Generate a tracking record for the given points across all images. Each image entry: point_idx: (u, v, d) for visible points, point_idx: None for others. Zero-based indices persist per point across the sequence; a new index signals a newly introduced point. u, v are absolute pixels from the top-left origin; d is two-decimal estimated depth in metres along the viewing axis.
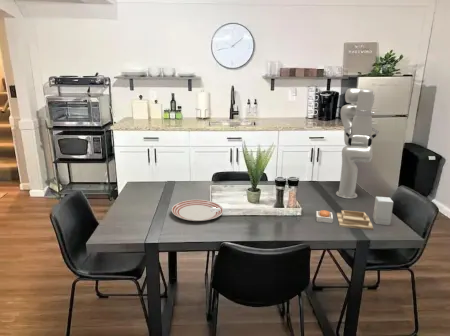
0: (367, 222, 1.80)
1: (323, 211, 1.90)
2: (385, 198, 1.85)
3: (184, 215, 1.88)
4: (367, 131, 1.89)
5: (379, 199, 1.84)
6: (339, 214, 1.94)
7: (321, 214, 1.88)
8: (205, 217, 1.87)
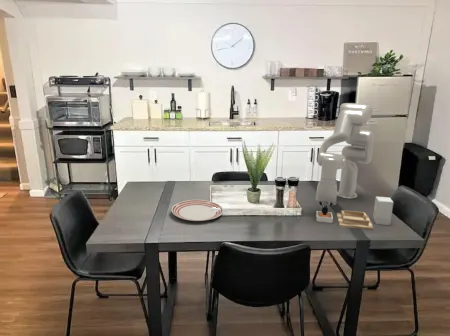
0: (367, 222, 1.80)
1: None
2: (385, 198, 1.85)
3: (184, 215, 1.89)
4: (332, 198, 1.84)
5: (380, 199, 1.84)
6: (339, 214, 1.94)
7: (321, 216, 1.88)
8: (205, 217, 1.87)
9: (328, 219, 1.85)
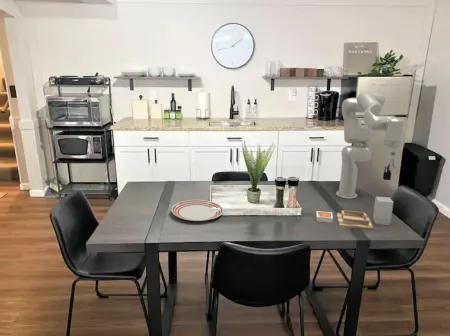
0: (367, 222, 1.80)
1: (323, 213, 1.90)
2: (385, 198, 1.85)
3: (184, 215, 1.89)
4: (385, 162, 1.77)
5: (380, 199, 1.84)
6: (339, 214, 1.94)
7: (321, 216, 1.88)
8: (205, 217, 1.87)
9: (328, 219, 1.85)
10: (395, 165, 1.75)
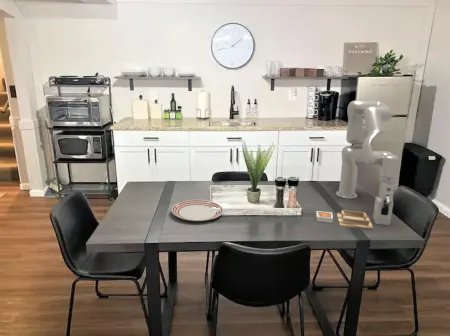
0: (367, 222, 1.80)
1: (323, 213, 1.90)
2: None
3: (184, 215, 1.88)
4: (381, 197, 1.82)
5: (380, 199, 1.84)
6: (339, 214, 1.94)
7: (321, 216, 1.88)
8: (205, 217, 1.87)
9: (328, 219, 1.85)
10: (391, 200, 1.80)
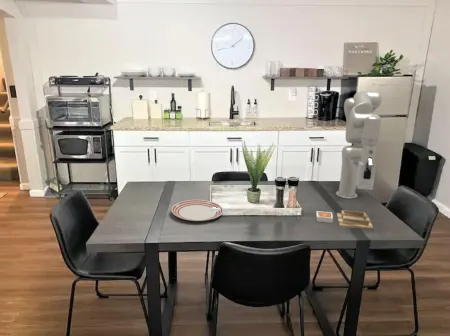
0: (367, 222, 1.80)
1: (323, 213, 1.90)
2: None
3: (184, 215, 1.89)
4: (363, 160, 1.76)
5: (362, 163, 1.78)
6: (339, 214, 1.94)
7: (321, 216, 1.88)
8: (205, 217, 1.87)
9: (328, 219, 1.85)
10: (373, 163, 1.74)
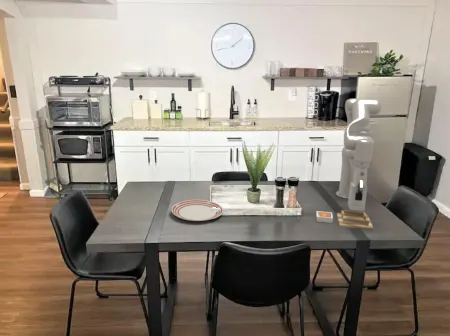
0: (367, 222, 1.80)
1: (323, 213, 1.90)
2: None
3: (184, 215, 1.88)
4: (355, 182, 1.79)
5: (354, 185, 1.80)
6: (339, 214, 1.94)
7: (321, 216, 1.88)
8: (205, 217, 1.87)
9: (328, 219, 1.85)
10: (364, 185, 1.76)
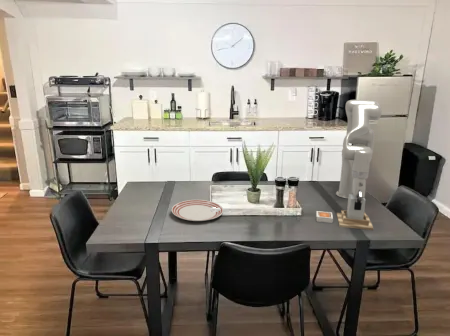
0: (367, 222, 1.80)
1: (323, 213, 1.90)
2: None
3: (184, 215, 1.89)
4: (354, 192, 1.80)
5: (352, 197, 1.83)
6: (339, 214, 1.94)
7: (321, 216, 1.88)
8: (205, 217, 1.87)
9: (328, 219, 1.85)
10: (363, 195, 1.78)
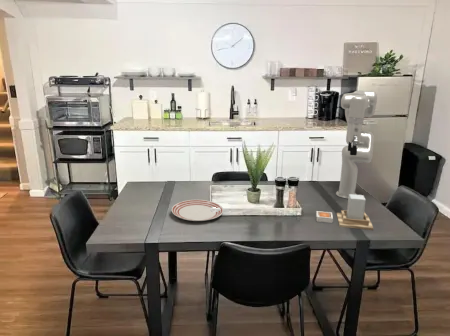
0: (367, 222, 1.80)
1: (323, 213, 1.90)
2: (358, 196, 1.84)
3: (184, 215, 1.88)
4: (350, 138, 1.88)
5: (352, 197, 1.83)
6: (339, 214, 1.94)
7: (321, 216, 1.88)
8: (205, 217, 1.87)
9: (328, 219, 1.85)
10: (358, 140, 1.85)
